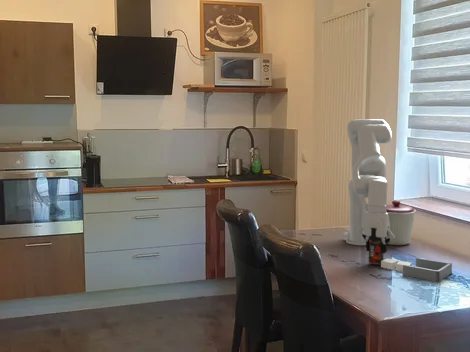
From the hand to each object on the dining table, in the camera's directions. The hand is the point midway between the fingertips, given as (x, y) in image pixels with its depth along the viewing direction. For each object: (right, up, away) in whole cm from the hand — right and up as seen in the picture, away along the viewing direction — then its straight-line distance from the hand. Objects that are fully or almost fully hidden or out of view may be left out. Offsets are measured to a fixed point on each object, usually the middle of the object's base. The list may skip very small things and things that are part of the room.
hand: (376, 251), depth 225 cm
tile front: (+9, -7, -7) cm, 13 cm away
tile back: (+5, -6, -3) cm, 9 cm away
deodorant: (0, -5, +1) cm, 5 cm away
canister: (+19, -1, +37) cm, 41 cm away
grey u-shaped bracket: (+16, -7, -13) cm, 22 cm away
